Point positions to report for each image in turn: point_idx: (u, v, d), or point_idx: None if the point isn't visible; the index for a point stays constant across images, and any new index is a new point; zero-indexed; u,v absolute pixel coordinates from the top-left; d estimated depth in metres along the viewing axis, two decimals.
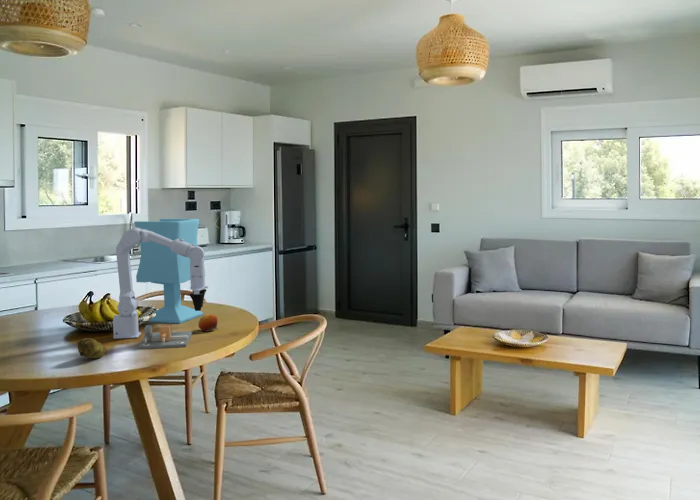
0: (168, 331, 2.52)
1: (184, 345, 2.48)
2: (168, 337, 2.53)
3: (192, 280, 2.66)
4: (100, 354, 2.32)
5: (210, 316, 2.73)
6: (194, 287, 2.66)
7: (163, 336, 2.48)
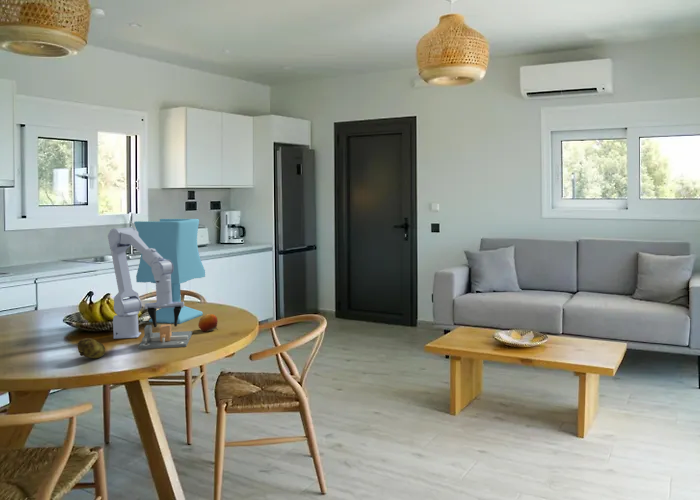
0: (168, 331, 2.52)
1: (184, 345, 2.48)
2: (168, 337, 2.53)
3: None
4: (100, 354, 2.32)
5: (210, 316, 2.73)
6: None
7: (163, 336, 2.48)
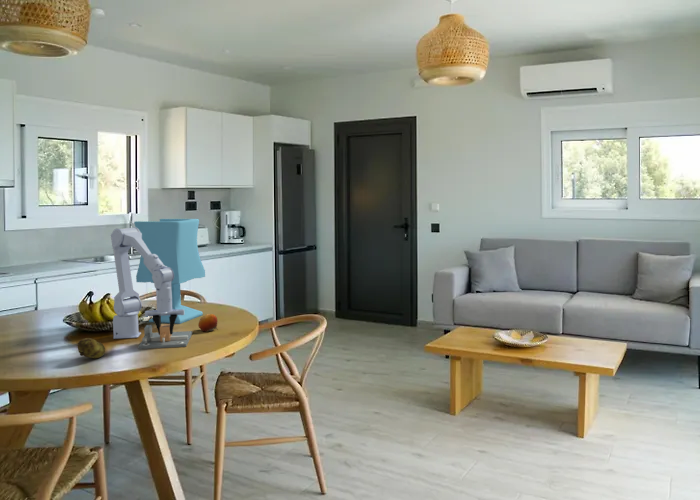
0: (168, 331, 2.52)
1: (184, 345, 2.48)
2: (168, 337, 2.53)
3: None
4: (100, 354, 2.32)
5: (210, 316, 2.73)
6: None
7: (163, 336, 2.48)
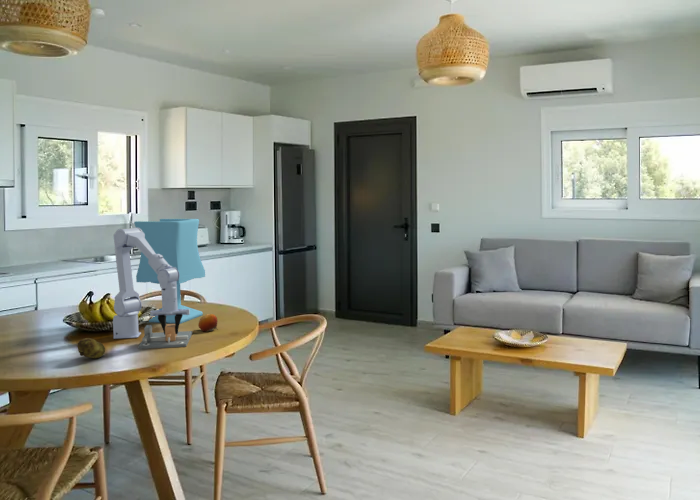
0: (173, 331, 2.52)
1: (184, 345, 2.48)
2: (173, 337, 2.53)
3: None
4: (100, 354, 2.32)
5: (210, 316, 2.73)
6: None
7: (168, 336, 2.48)
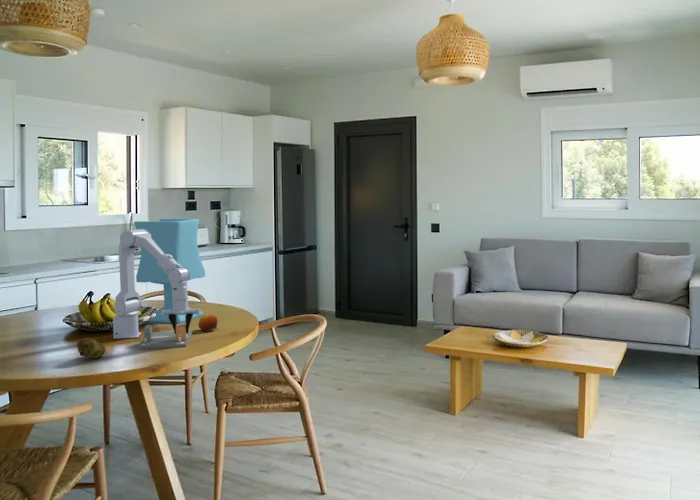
0: (184, 330, 2.53)
1: (184, 345, 2.48)
2: (184, 336, 2.53)
3: None
4: (100, 354, 2.32)
5: (210, 316, 2.73)
6: None
7: (179, 335, 2.49)
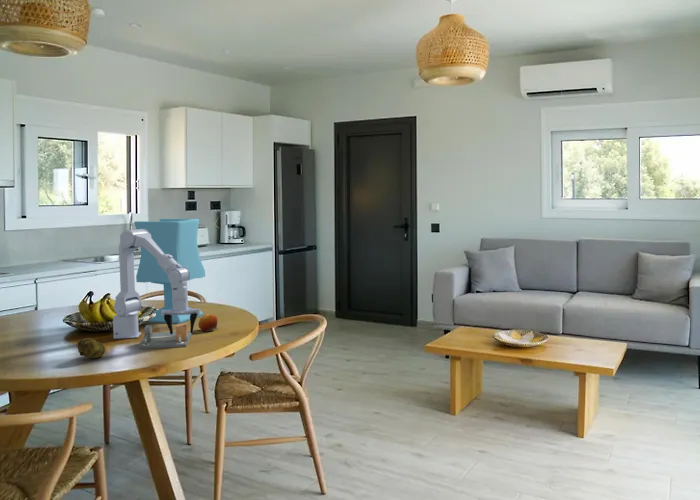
0: (184, 330, 2.53)
1: (184, 345, 2.48)
2: (184, 336, 2.53)
3: None
4: (100, 354, 2.32)
5: (210, 316, 2.73)
6: None
7: (179, 335, 2.49)
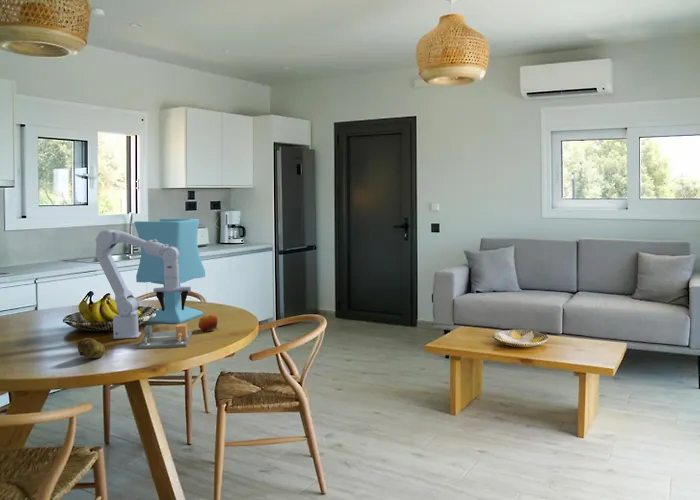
0: (184, 330, 2.53)
1: (184, 345, 2.48)
2: (184, 336, 2.53)
3: None
4: (100, 354, 2.32)
5: (210, 316, 2.73)
6: None
7: (179, 335, 2.49)
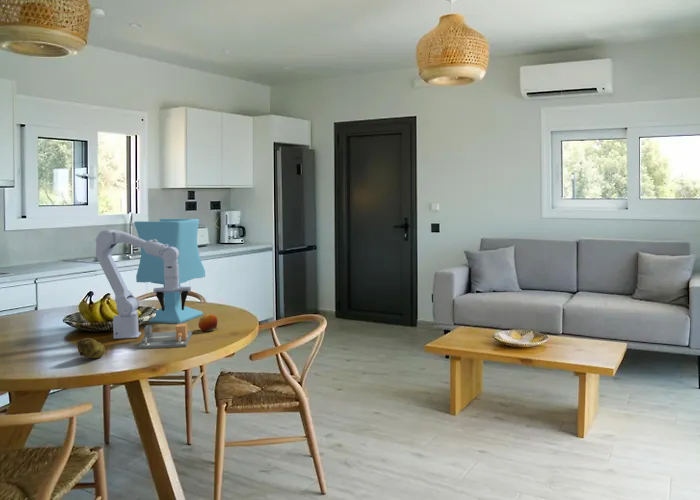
0: (184, 330, 2.53)
1: (184, 345, 2.48)
2: (184, 336, 2.53)
3: None
4: (100, 354, 2.32)
5: (210, 316, 2.73)
6: None
7: (179, 335, 2.49)
